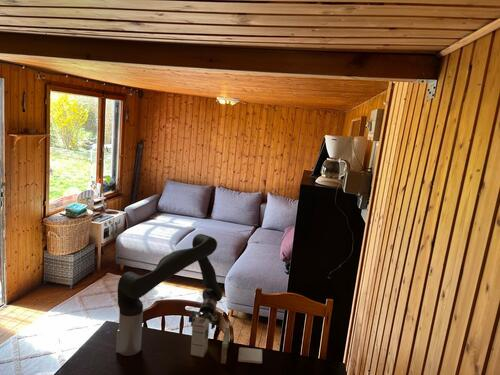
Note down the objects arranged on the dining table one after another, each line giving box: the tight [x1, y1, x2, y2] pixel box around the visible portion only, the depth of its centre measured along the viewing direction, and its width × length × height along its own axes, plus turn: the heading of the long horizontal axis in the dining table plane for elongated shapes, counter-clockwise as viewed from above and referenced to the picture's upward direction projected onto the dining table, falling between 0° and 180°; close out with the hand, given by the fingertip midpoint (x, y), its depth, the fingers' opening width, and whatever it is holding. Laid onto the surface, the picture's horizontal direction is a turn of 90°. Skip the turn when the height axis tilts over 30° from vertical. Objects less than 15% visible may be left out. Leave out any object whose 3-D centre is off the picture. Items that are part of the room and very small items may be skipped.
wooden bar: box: [221, 327, 231, 349], centre depth 152 cm, size 2×12×2 cm, turn 178°
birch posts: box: [220, 331, 231, 364], centre depth 152 cm, size 2×13×7 cm, turn 178°
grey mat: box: [237, 347, 263, 365], centre depth 153 cm, size 10×8×1 cm
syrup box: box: [190, 317, 210, 358], centre depth 152 cm, size 6×6×14 cm
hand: (202, 326), depth 158 cm, fingers open, 8 cm apart
